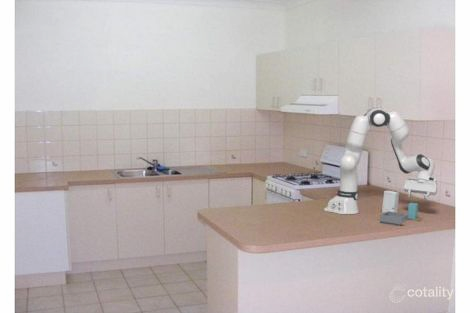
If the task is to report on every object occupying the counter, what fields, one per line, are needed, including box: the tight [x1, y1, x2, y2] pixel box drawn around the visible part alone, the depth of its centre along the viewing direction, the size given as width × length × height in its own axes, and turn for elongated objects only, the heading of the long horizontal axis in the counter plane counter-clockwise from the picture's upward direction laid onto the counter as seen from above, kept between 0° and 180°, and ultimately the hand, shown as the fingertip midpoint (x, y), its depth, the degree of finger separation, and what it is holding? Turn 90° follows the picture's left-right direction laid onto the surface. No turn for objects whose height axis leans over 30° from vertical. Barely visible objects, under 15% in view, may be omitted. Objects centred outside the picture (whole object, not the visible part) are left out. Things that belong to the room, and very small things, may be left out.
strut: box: [407, 202, 419, 219], centre depth 324 cm, size 4×4×9 cm
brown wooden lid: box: [407, 216, 425, 222], centre depth 324 cm, size 12×12×5 cm
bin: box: [379, 211, 409, 227], centre depth 318 cm, size 13×13×5 cm
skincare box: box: [381, 190, 400, 214], centre depth 340 cm, size 8×6×15 cm
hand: (417, 197), depth 329 cm, fingers open, 8 cm apart
